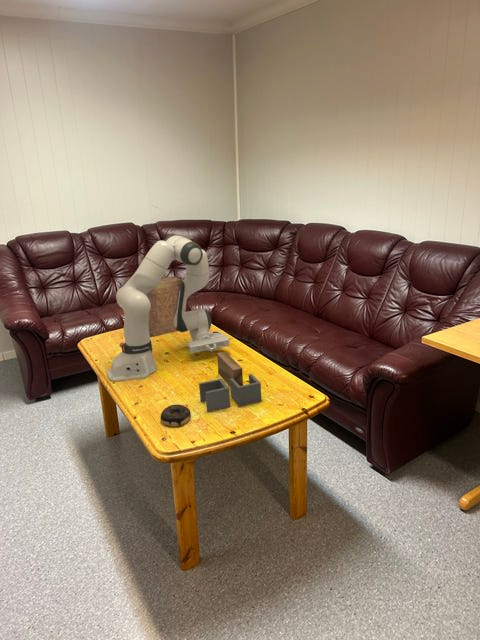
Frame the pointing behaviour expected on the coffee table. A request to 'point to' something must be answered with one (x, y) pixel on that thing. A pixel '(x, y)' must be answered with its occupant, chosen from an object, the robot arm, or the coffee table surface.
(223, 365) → the slat
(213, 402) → the end cap
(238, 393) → the end cap
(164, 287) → the book
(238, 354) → the coffee table surface
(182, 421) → the donut
